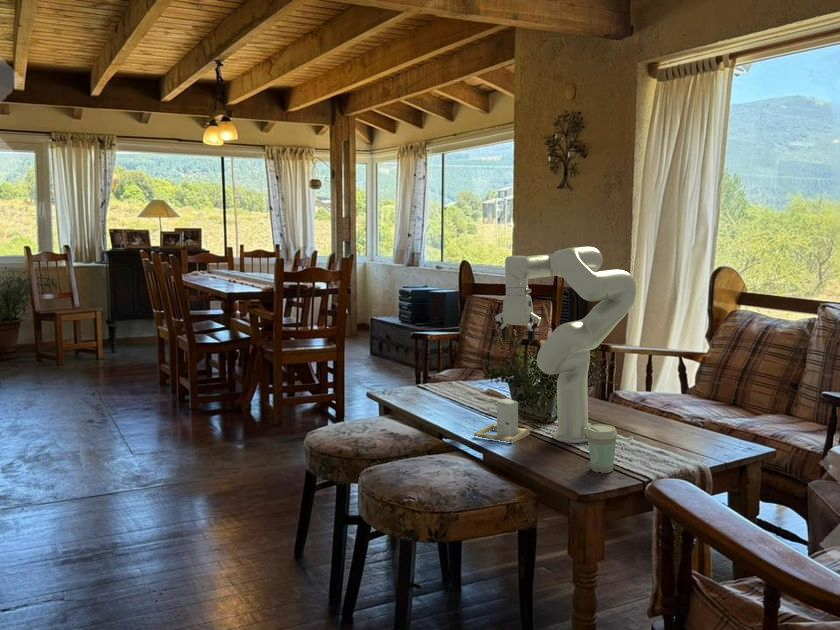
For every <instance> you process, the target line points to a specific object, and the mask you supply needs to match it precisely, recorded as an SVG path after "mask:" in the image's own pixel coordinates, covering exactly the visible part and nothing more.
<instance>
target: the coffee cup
mask: <svg viewBox="0 0 840 630" xmlns="http://www.w3.org/2000/svg"><path fill="white" fill-rule="evenodd" d="M618 435H619V434H618V431H617V429H616V427H615V426H613V425H609V424H601V423H599V424H591V426H589V427H588V429H587V432H586V436H587V439H588V441H587V444H588V451H589V459H590V465H591V466H590V467H591V470H592V471H593V472H594V473H595V472H596V473H598V472H601V473H600V474H607V473H610V472H612V471H613V470H614V465H615V464H614V463H615V454H616V453H615V452H616V444H617V443H616V442H617V437H618Z"/></svg>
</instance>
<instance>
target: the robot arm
mask: <svg viewBox="0 0 840 630" xmlns="http://www.w3.org/2000/svg"><path fill="white" fill-rule="evenodd" d="M602 264H603V255H602V253H601V251H600V250H599V249H597V248H596V247H594V246H587V245H586V246H577V247H568V248H567V247H566V248H564V249H558V250H556V251H554V252H553V253H548V254H538V255H537V254H536V255H535V254H534V255H528V256H527V255H526V256H525V255H510V256H509V255H508V256H507V257H506V258H505V260H504V268H505V272H504V273H505V274H504V275H505V295H504V298H503V303H502V304H503V305H502V312H500V313H498V314H496V315H495V316H494V319H495V321H496V322H497V325H498V326H499V328H500V330H501V337H502V341H508V340H509V338H510V337H509V335H510V333H509V331H510V330H509V328H508V327H509V325H511V326H512V325H513V326H525V327H526V328H527V329H528V331H527V343H529V344H530V343H533V342H534V341H535V338H536V336H535V330H536V329H537V328H538V327H539V326H540V323H541V321H542V318H541V317H540V316H538V315H537V314H535V313H534V307H533V301H532V297H531V295H530V293H532V289H531V288H529V284H528V283H529V279H530V280H531V279H538V278H547V277H548V278H549V277H556V276H557V277H559V278H563V280H564V281H565V282H566V283H567V284H568V285H569V286H570V287H571V288H572V289H573V290H574V291H575V292H576V294H577V295H579V296H580V298H582V299H583V300H585V301H588V302H598V303H597V304H595V306H593V307H592V309H591V310H590V311H589V312H588V314H586V316H585V317H583V318H582V319H579V320H574V321H570V322H565V323H562V324H560V325H559V326H557V327H556V328H555V329H554V330H553V331H552V333H550V335H549V336H548V337H547V339H546V340H545V341H544V343H543V344H542V345H541V346H540V347H539V350H538V352H537V356H536V363H537V367H538V368H539V370H540V371H541V372H543V374H546V375H557V374H558V377H557V381H556V400H557V401H556V403H557V430H555V431H554V432H553V433H552V434H553V435H552V437H553V439H554V440H556V441H558V442H563V443H567V444H580V443H586V442H587V443H588V439H587V436H586V432H587V429H588V427H589V426H591V425H592V423H590V422H589V409H588V407H589V402H588V397H589V396H588V374H589V367H590V362H591V352H590V351H591V350H595V349H596V348H598V347H599V346H600V345H601V343H602V342H603V341H604V340H605V339H606V338H607V336H609V335H610V333H611V332H612V331H613V330H614V328H615V327H616V326H617V325H618V324H619V323H620V322H621V321H622V320H623V319H624V317H626V315H627V314H628V313H629V312H630V310H631V309H632V307H633V305H634V303H635V300H636V295H637V288H636V287H637V286H636V281H635V279H634V277H633V275H632V274H630V273H629V272H627V271H625V270H623V269H606V270H600V268H601V266H602ZM599 270H600V271H599ZM599 301H600V302H599ZM501 318H502V319H501ZM534 320H535V322H534Z"/></svg>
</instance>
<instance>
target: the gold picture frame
mask: <svg viewBox="0 0 840 630" xmlns="http://www.w3.org/2000/svg"><path fill="white" fill-rule="evenodd" d="M493 429H494V430H493ZM491 430H493V431H496V430H497V423H496V424H495V423H492V424H490V425H488V426H486V427H484V428H482V429H481V430H478V431H476V432H475V433H474V434H473V435H474V436H478V437H482V438H488V439H494V440H500V441H506V442H511V443H513V442H515V441H517V440H519V441H520V439H521V440H522V439H524V438H526V437H527V436H529V435H530V433H531V430H530V429H529V428H521V427H518V434H517V435H516V436H514V437H509V436H502V435H497V434H490V432H489V431H491ZM486 432H489V433H487V434H484V433H486ZM491 432H492V431H491ZM474 436H473V437H474ZM517 442H518V441H517ZM515 443H516V442H515Z"/></svg>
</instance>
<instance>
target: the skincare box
mask: <svg viewBox="0 0 840 630" xmlns="http://www.w3.org/2000/svg"><path fill="white" fill-rule="evenodd" d="M496 425H497V431H496V435H502V436H509V437H514V436H516V435H517V434H518V428H519V402H518V401H516V400H512V399H508V398H503V399H499V400H497V401H496Z"/></svg>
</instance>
